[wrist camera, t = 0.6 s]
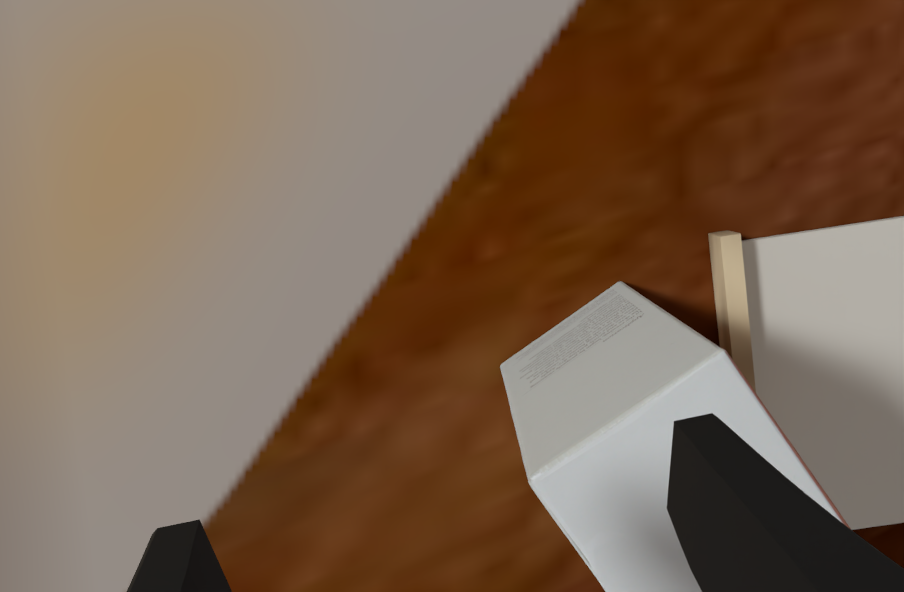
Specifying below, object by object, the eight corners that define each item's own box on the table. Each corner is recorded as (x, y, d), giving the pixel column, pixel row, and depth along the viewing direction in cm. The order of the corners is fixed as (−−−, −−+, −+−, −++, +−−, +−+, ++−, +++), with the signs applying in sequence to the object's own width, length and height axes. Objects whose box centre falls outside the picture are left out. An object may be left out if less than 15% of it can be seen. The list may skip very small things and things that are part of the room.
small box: (728, 426, 34) (893, 585, 21) (604, 509, 35) (692, 712, 22) (620, 273, 33) (726, 344, 20) (495, 362, 34) (520, 485, 21)
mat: (1042, 498, 35) (1048, 501, 34) (762, 537, 35) (766, 541, 35) (1030, 196, 33) (1037, 197, 32) (733, 241, 33) (737, 242, 33)
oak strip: (754, 505, 35) (768, 521, 33) (736, 508, 35) (748, 524, 33) (727, 230, 33) (740, 233, 31) (708, 233, 33) (720, 236, 31)
